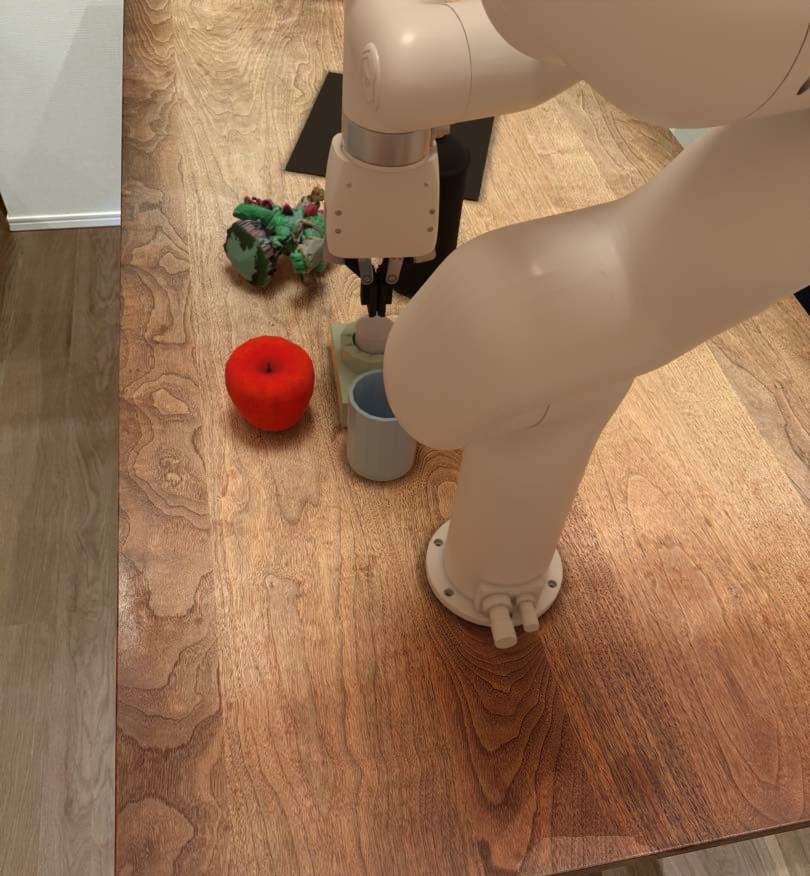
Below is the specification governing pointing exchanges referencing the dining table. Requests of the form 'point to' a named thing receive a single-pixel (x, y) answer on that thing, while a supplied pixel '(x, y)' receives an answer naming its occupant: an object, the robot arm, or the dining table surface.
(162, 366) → the dining table surface
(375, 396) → the cup
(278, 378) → the apple
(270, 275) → the figurine
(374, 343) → the round grey push button
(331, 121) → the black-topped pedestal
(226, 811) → the dining table surface
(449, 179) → the aerosol can
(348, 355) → the push button box
